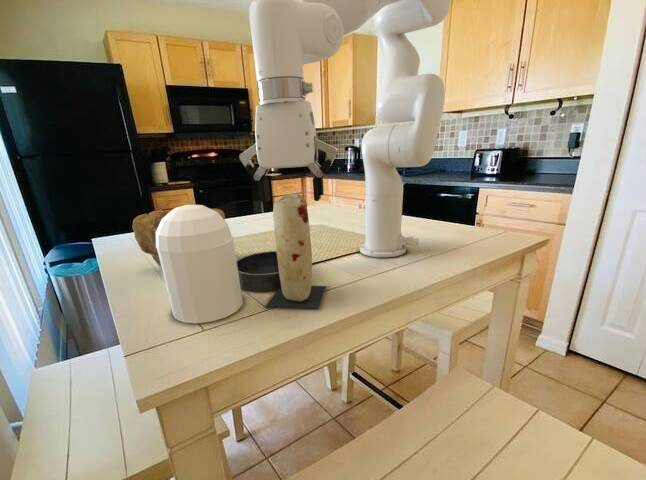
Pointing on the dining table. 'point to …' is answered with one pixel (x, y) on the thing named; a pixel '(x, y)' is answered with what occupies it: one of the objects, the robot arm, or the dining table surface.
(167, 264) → the container
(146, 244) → the rough brown rock
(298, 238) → the food model
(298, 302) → the mat
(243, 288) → the pan
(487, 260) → the dining table surface
